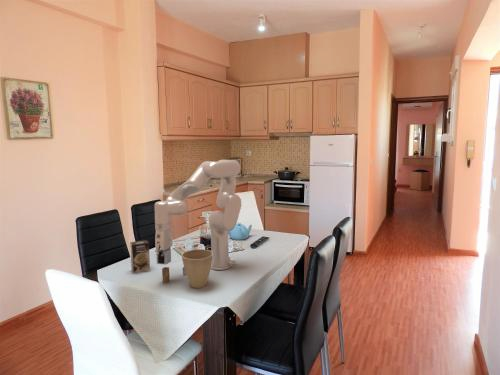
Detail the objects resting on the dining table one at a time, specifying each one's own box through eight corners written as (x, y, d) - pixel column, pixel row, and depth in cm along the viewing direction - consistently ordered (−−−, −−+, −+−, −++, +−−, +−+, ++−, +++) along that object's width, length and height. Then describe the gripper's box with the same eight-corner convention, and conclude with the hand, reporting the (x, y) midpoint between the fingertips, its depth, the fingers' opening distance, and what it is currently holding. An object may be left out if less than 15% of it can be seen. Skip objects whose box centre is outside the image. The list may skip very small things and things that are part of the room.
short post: (189, 273, 194) (189, 266, 193) (187, 275, 191) (187, 268, 191) (185, 273, 194) (184, 266, 194) (183, 274, 192) (182, 267, 191)
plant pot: (177, 288, 175) (175, 256, 172) (193, 277, 188) (192, 247, 186) (203, 293, 169) (202, 260, 166) (219, 281, 182) (218, 251, 180)
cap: (171, 261, 184) (170, 248, 183) (166, 264, 179) (165, 251, 178) (161, 260, 185) (161, 247, 184) (156, 263, 180) (156, 250, 179)
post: (169, 280, 185) (169, 267, 184) (167, 282, 182) (166, 269, 181) (165, 280, 185) (164, 267, 184) (162, 282, 183) (162, 268, 182)
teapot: (224, 239, 257) (224, 224, 255) (233, 234, 270) (233, 220, 269) (244, 241, 251) (243, 226, 249) (252, 236, 264) (252, 221, 263)
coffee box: (133, 274, 195) (131, 244, 193) (131, 270, 200) (129, 241, 198) (150, 270, 199) (149, 242, 197) (148, 267, 205) (146, 239, 202)
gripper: (161, 230, 171) (162, 267, 173) (177, 222, 187) (178, 256, 189) (147, 229, 172) (148, 266, 175) (164, 222, 189) (165, 255, 191)
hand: (164, 261), depth 182 cm, fingers closed on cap, 5 cm apart
